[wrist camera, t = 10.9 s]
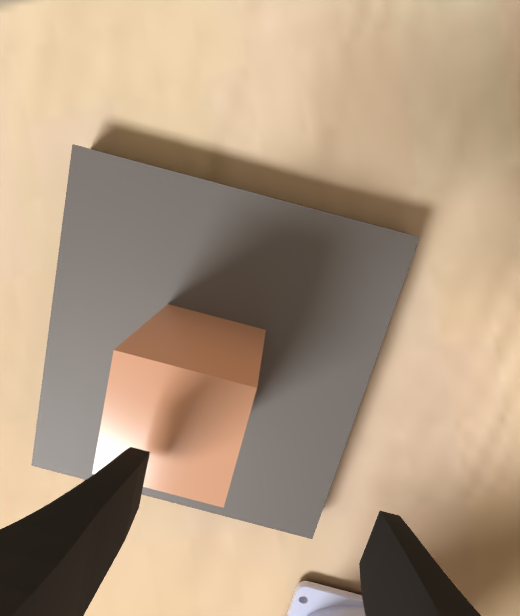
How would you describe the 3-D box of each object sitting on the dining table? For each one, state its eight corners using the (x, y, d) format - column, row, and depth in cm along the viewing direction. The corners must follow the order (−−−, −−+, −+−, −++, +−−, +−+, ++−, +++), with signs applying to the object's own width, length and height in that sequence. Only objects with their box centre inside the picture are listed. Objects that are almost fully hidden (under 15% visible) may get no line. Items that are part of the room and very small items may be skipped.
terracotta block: (241, 417, 20) (223, 507, 14) (149, 393, 20) (92, 473, 14) (265, 329, 18) (257, 387, 13) (167, 303, 18) (113, 349, 13)
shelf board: (310, 517, 23) (312, 539, 21) (47, 448, 22) (31, 465, 21) (409, 234, 18) (419, 237, 17) (89, 149, 18) (72, 144, 17)
